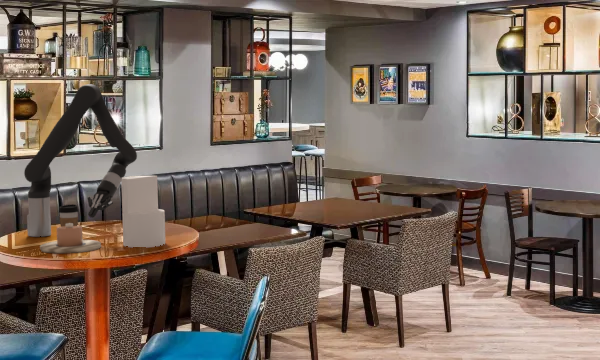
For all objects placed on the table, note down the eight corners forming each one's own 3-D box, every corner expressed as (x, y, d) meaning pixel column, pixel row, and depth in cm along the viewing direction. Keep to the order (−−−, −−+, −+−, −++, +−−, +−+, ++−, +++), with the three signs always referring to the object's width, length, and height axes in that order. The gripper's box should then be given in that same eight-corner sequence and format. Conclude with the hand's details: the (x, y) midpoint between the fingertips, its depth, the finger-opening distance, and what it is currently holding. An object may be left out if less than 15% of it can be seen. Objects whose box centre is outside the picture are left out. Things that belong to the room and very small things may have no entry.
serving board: (27, 251, 332) (27, 248, 332) (61, 242, 355) (61, 238, 355) (80, 254, 325) (80, 250, 325) (111, 244, 348) (111, 240, 348)
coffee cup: (83, 238, 363) (82, 204, 362) (72, 241, 355) (70, 207, 354) (67, 238, 366) (65, 204, 364) (55, 241, 358) (54, 206, 356)
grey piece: (114, 245, 346) (112, 178, 343) (144, 239, 360) (142, 175, 357) (144, 249, 336) (142, 180, 333) (174, 242, 350) (172, 176, 348)
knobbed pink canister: (52, 246, 336) (51, 225, 335) (66, 242, 345) (65, 221, 345) (73, 247, 333) (72, 226, 332) (87, 243, 342) (86, 222, 341)
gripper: (93, 178, 360) (74, 209, 351) (117, 180, 355) (98, 212, 345) (101, 189, 366) (82, 220, 356) (125, 191, 360) (107, 223, 350)
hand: (90, 216), depth 350 cm, fingers closed
